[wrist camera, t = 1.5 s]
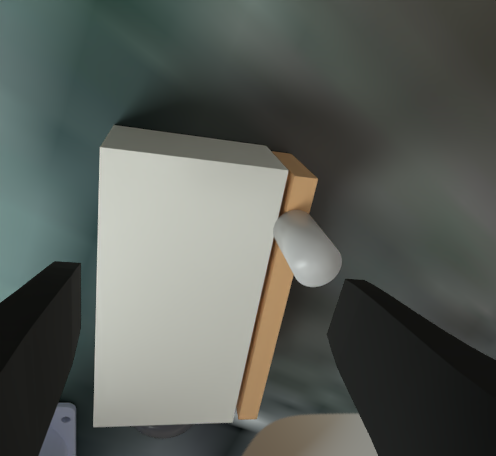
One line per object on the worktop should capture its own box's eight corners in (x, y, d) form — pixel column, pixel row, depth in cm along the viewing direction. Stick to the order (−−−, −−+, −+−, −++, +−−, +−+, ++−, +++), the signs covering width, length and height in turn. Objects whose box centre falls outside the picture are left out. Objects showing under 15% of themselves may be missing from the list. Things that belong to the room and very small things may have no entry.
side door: (250, 365, 25) (277, 473, 19) (222, 365, 24) (240, 475, 18) (298, 154, 19) (359, 208, 13) (264, 150, 19) (309, 203, 13)
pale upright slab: (220, 378, 25) (229, 435, 21) (104, 380, 23) (92, 441, 20) (266, 145, 19) (288, 170, 15) (113, 124, 17) (99, 146, 14)
